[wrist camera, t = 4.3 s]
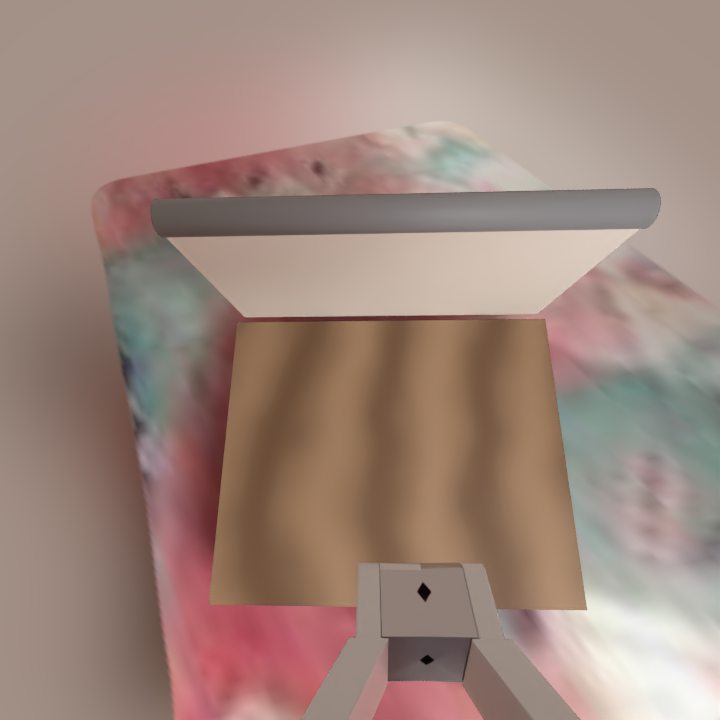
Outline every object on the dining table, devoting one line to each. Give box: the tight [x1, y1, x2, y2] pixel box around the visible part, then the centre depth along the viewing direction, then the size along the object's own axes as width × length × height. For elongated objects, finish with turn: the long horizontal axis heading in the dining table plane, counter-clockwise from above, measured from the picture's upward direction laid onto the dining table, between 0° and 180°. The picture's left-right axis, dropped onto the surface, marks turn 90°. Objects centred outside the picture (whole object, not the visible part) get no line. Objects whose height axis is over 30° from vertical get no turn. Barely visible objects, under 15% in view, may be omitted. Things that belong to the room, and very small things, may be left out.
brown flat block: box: [209, 319, 587, 610], centre depth 27 cm, size 22×18×4 cm
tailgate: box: [151, 188, 661, 317], centre depth 22 cm, size 21×2×12 cm, turn 90°
